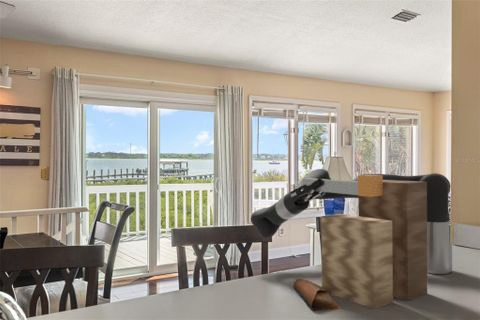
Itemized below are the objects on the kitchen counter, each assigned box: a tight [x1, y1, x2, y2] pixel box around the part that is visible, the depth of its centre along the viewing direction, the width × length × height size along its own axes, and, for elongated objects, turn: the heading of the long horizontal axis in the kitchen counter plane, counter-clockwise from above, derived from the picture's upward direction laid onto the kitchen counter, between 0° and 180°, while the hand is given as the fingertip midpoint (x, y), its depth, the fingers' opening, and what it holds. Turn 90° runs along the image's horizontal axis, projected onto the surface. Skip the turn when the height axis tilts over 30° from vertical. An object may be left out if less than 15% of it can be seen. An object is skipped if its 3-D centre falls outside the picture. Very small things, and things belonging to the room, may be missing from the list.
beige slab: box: [321, 213, 394, 309], centre depth 117 cm, size 18×8×22 cm, turn 37°
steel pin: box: [301, 174, 383, 197], centre depth 121 cm, size 26×6×6 cm, turn 37°
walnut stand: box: [358, 180, 428, 302], centre depth 122 cm, size 16×10×32 cm, turn 37°
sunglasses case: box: [292, 278, 341, 312], centre depth 116 cm, size 18×7×7 cm
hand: (326, 180), depth 125 cm, fingers closed on steel pin, 3 cm apart
